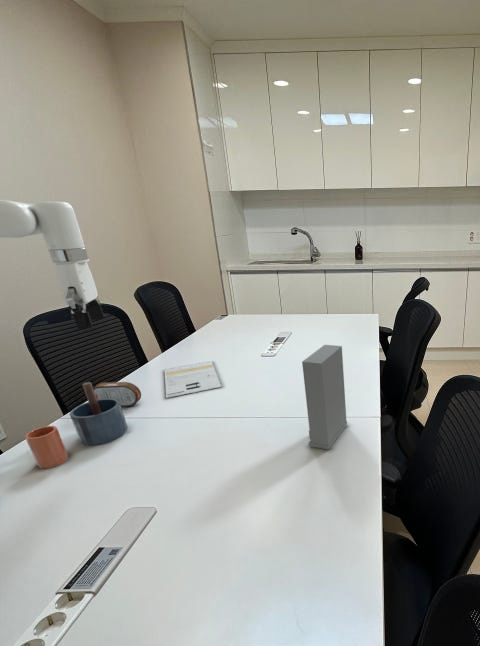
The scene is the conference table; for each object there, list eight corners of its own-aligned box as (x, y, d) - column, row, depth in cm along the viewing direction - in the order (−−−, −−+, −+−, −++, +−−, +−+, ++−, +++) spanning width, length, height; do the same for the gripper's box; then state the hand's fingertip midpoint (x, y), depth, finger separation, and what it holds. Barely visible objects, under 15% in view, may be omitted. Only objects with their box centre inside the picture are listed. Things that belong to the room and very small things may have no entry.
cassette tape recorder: (328, 422, 118) (321, 344, 108) (347, 425, 116) (342, 345, 106) (308, 446, 106) (298, 361, 96) (328, 450, 104) (321, 363, 94)
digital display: (211, 361, 168) (221, 386, 144) (211, 362, 168) (221, 386, 144) (164, 369, 161) (166, 397, 136) (164, 370, 161) (166, 398, 136)
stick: (99, 435, 113) (81, 385, 107) (101, 431, 115) (83, 382, 109) (107, 433, 114) (89, 384, 107) (109, 430, 116) (91, 381, 109)
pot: (73, 449, 108) (62, 420, 104) (88, 428, 118) (78, 401, 115) (122, 441, 111) (112, 413, 107) (132, 421, 122) (124, 395, 118)
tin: (144, 402, 134) (137, 380, 130) (140, 406, 131) (133, 384, 127) (99, 404, 133) (91, 382, 130) (94, 409, 130) (86, 386, 127)
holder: (33, 470, 99) (19, 440, 95) (45, 456, 105) (32, 428, 101) (62, 465, 101) (50, 436, 97) (72, 452, 106) (60, 424, 103)
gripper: (66, 254, 103) (87, 317, 110) (35, 261, 87) (62, 334, 94) (98, 252, 105) (117, 314, 112) (73, 259, 89) (97, 330, 96)
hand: (91, 323), depth 103 cm, fingers open, 9 cm apart
